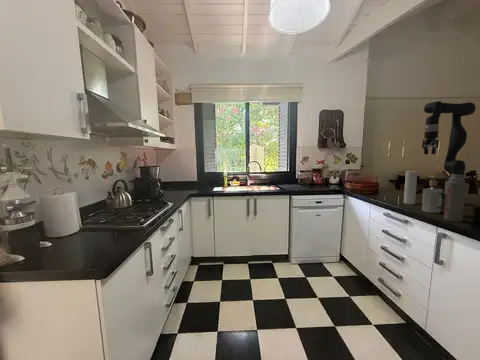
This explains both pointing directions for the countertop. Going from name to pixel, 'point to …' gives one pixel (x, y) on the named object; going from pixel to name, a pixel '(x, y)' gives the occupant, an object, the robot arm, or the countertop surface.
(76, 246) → the countertop surface
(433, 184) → the plunger
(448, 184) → the thermos bottle
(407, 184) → the cylindrical container
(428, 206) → the press body
